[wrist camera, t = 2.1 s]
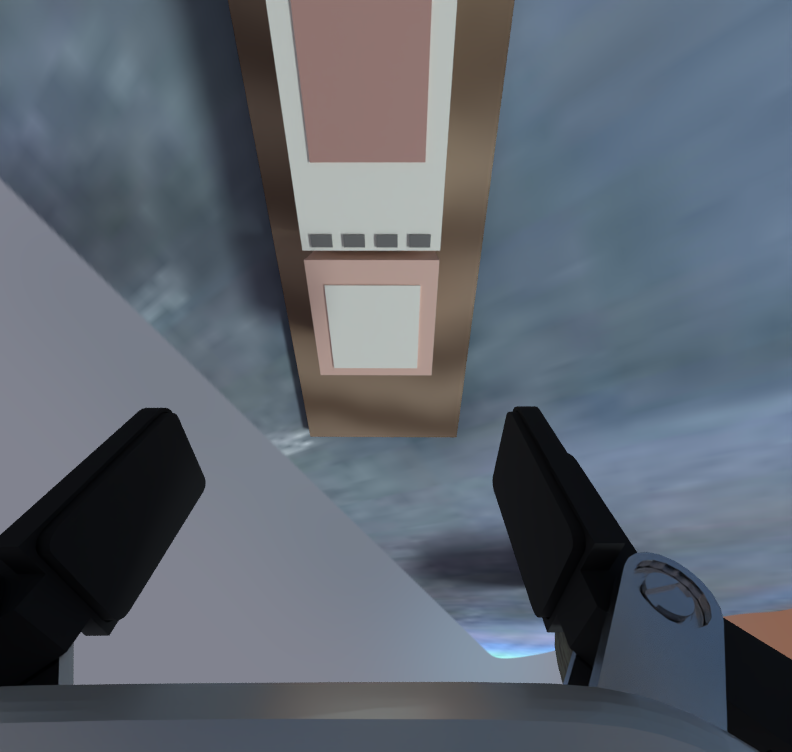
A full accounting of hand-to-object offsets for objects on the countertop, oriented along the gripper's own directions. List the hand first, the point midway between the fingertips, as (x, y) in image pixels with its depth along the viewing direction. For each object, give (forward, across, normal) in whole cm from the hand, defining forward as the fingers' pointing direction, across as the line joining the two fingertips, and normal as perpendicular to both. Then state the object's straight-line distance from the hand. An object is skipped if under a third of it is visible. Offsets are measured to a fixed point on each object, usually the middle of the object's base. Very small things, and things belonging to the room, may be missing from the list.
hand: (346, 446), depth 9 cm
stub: (+12, 0, -1) cm, 13 cm away
